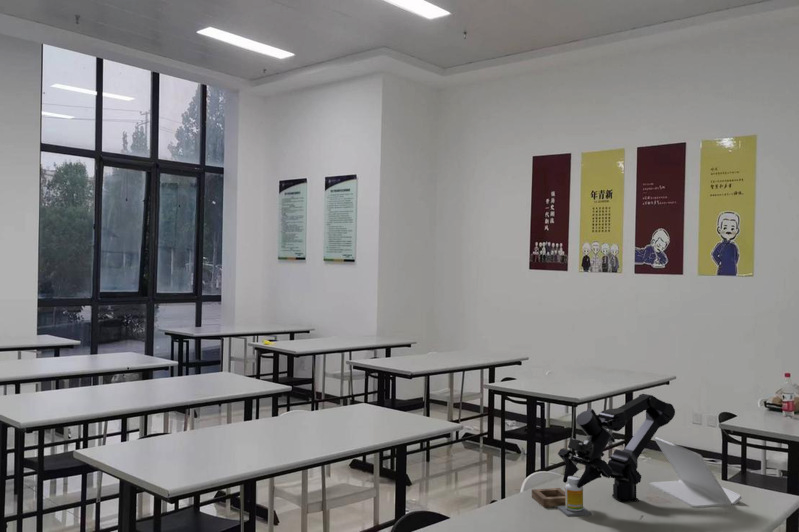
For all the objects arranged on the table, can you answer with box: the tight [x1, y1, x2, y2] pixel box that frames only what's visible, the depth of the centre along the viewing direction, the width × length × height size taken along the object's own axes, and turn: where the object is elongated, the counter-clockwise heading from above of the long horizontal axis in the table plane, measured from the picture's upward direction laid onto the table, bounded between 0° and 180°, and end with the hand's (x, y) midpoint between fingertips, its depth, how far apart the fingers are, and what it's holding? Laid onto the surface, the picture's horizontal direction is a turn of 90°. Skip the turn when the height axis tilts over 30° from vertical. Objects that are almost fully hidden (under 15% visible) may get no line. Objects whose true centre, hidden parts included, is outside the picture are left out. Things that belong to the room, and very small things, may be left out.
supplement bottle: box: [564, 475, 584, 511], centre depth 209 cm, size 5×5×10 cm
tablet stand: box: [649, 436, 743, 509], centre depth 227 cm, size 18×25×17 cm
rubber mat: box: [556, 505, 593, 517], centre depth 209 cm, size 8×8×1 cm
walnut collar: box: [531, 487, 565, 508], centre depth 218 cm, size 10×10×2 cm
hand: (570, 484), depth 209 cm, fingers open, 6 cm apart
